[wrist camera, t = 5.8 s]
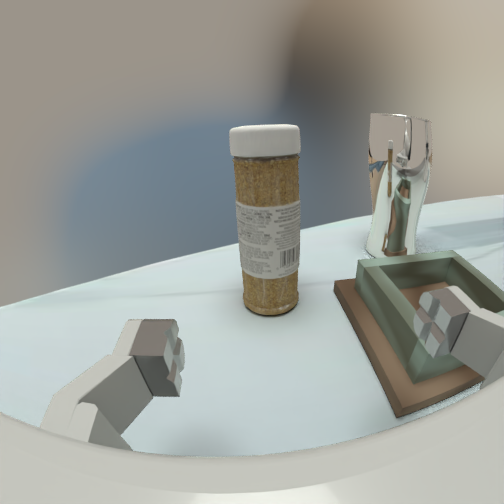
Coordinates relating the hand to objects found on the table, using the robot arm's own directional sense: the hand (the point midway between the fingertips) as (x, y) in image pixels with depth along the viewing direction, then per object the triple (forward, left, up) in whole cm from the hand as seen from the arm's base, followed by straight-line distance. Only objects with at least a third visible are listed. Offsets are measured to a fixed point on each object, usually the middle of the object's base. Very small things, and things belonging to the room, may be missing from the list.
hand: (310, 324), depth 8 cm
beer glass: (-15, -19, -8) cm, 25 cm away
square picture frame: (-12, -6, -8) cm, 16 cm away
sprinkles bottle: (0, -12, -8) cm, 14 cm away
